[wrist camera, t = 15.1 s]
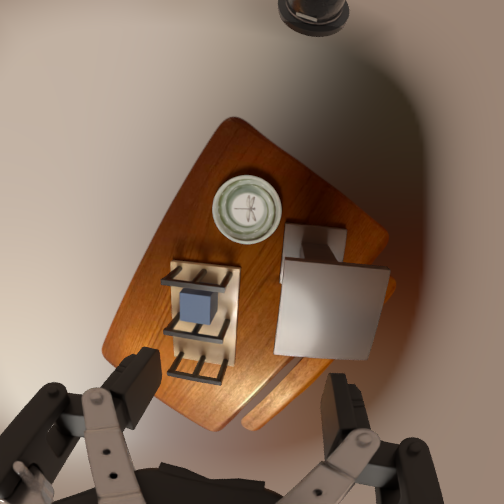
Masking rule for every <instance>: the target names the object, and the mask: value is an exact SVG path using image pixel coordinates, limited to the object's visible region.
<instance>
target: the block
mask: <svg viewBox="0 0 504 504" xmlns="http://www.w3.org/2000/svg"><path fill="white" fill-rule="evenodd" d="M200 283H204V282H200ZM208 284H212V283H208ZM216 285H218V284H216ZM179 296H180V321H185V322H192V323H198V324H205V325H210V324H211V322H212V320H213V318H214V316H215V314H216V312H217V308H218V292H211V291H203V290H196V289H188V288H183V289H182V290H181V291H180V293H179Z"/></svg>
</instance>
